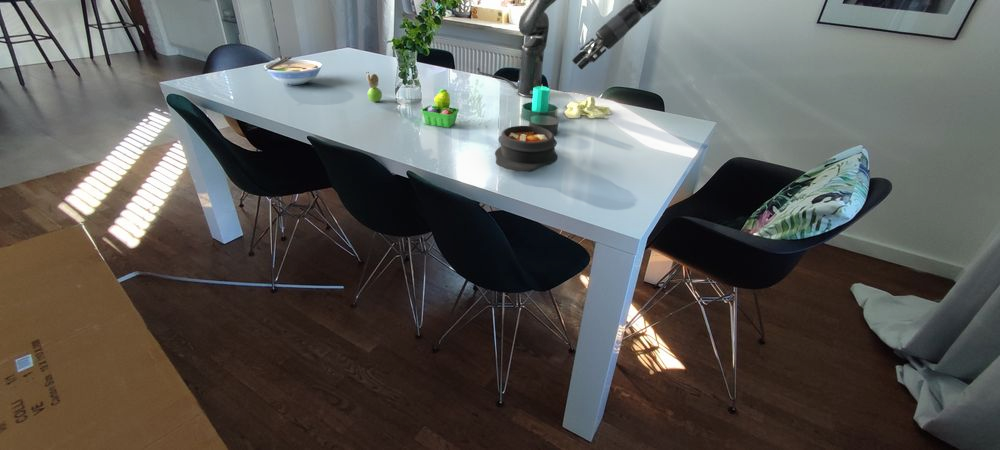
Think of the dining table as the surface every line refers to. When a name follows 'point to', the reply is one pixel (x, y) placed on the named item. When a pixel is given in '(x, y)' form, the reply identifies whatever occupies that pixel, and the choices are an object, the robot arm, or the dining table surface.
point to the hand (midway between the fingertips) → (576, 64)
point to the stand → (545, 123)
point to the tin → (529, 113)
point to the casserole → (526, 148)
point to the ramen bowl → (293, 70)
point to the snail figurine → (373, 88)
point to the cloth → (586, 109)
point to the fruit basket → (440, 111)
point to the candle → (540, 99)
